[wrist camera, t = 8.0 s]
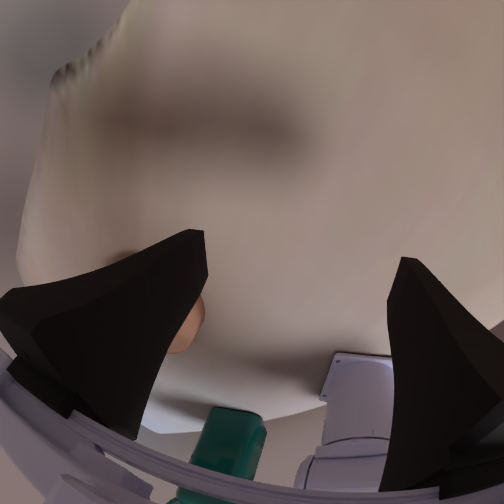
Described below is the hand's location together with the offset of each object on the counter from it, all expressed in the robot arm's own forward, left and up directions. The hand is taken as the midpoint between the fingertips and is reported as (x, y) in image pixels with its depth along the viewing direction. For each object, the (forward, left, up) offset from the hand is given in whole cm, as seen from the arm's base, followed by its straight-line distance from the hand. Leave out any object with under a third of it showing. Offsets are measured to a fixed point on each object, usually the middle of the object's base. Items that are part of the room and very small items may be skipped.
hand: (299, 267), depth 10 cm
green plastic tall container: (-38, +7, -10) cm, 40 cm away
